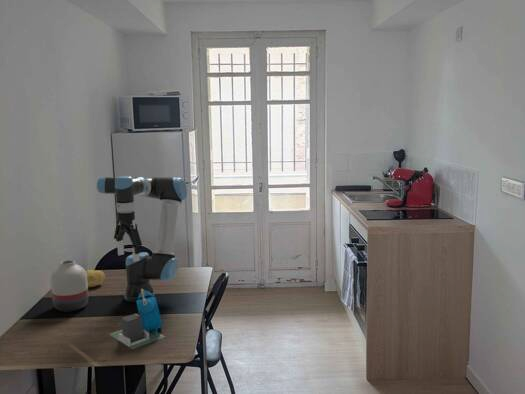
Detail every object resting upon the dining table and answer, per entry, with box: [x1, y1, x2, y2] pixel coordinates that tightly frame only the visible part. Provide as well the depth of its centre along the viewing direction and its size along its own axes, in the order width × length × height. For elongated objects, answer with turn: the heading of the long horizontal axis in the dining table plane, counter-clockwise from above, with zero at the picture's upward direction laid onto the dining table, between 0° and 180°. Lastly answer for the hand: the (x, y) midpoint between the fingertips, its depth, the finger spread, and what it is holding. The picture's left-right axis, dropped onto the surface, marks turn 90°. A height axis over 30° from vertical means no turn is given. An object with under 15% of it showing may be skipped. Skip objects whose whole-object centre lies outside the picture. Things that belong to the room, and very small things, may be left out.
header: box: [118, 329, 149, 347], centre depth 217 cm, size 8×10×4 cm
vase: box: [50, 259, 89, 313], centre depth 255 cm, size 17×17×24 cm
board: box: [108, 329, 166, 350], centre depth 221 cm, size 20×16×1 cm
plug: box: [121, 313, 143, 343], centre depth 216 cm, size 5×7×10 cm
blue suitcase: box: [136, 289, 163, 335], centre depth 226 cm, size 17×10×20 cm, turn 14°
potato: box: [85, 269, 106, 289], centre depth 285 cm, size 10×14×10 cm
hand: (128, 257), depth 230 cm, fingers open, 13 cm apart
